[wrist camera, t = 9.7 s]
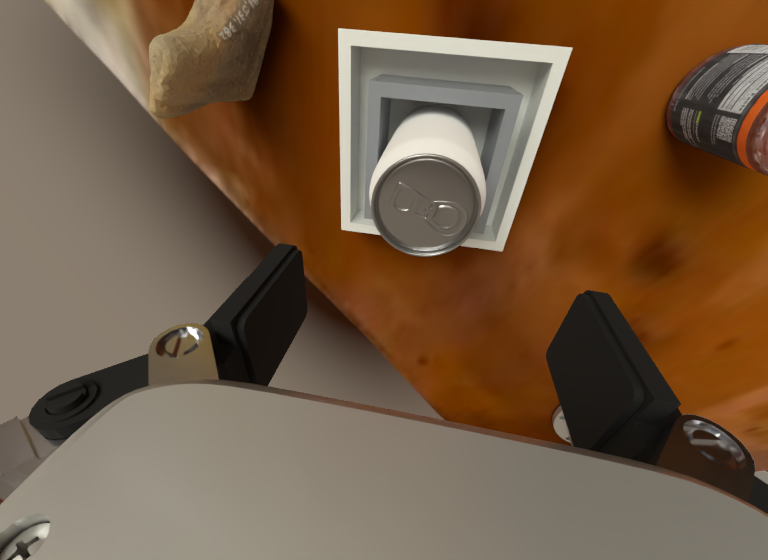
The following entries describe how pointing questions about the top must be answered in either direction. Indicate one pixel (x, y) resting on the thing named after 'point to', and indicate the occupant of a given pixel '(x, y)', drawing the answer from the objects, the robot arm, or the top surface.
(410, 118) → the can
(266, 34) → the stone
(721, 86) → the supplement bottle
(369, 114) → the inlet box
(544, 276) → the top surface
